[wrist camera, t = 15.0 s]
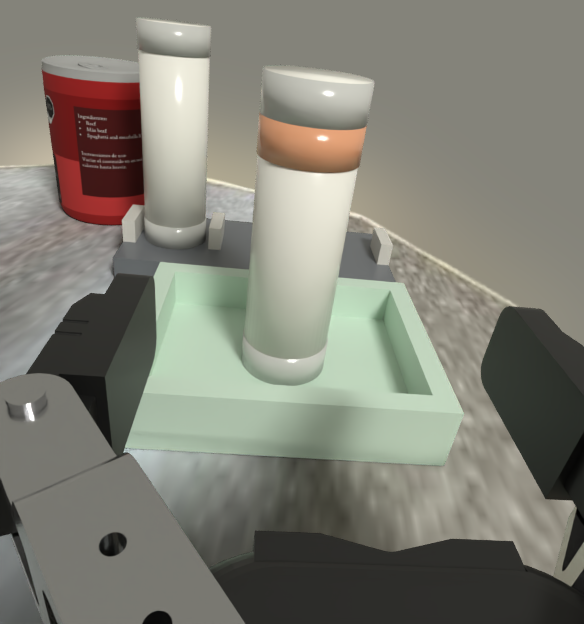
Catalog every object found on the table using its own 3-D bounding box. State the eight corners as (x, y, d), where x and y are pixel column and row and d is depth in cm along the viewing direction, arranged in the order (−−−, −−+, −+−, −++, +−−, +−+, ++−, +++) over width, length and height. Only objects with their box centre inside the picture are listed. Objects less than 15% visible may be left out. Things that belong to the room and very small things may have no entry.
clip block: (114, 279, 32) (111, 235, 30) (142, 230, 39) (141, 193, 37) (390, 302, 34) (400, 261, 32) (371, 251, 40) (378, 216, 39)
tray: (109, 447, 20) (103, 390, 19) (161, 307, 30) (160, 261, 28) (443, 466, 22) (464, 413, 20) (392, 325, 31) (403, 283, 29)
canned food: (103, 187, 46) (92, 53, 41) (177, 207, 44) (176, 69, 38) (37, 210, 40) (12, 56, 34) (119, 235, 38) (108, 75, 32)
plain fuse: (138, 246, 33) (127, 18, 26) (151, 223, 37) (145, 16, 30) (201, 252, 33) (206, 28, 27) (208, 228, 37) (214, 25, 30)
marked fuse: (238, 382, 23) (261, 73, 16) (243, 333, 27) (264, 62, 20) (326, 389, 23) (384, 88, 17) (320, 339, 27) (365, 74, 20)
